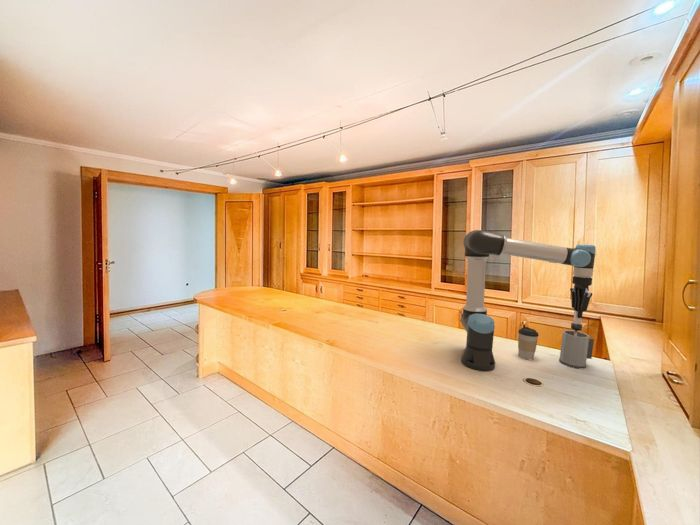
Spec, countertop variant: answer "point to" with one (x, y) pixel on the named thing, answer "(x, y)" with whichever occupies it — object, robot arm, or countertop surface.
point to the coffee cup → (527, 342)
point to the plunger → (576, 328)
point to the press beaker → (575, 349)
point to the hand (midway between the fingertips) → (577, 323)
